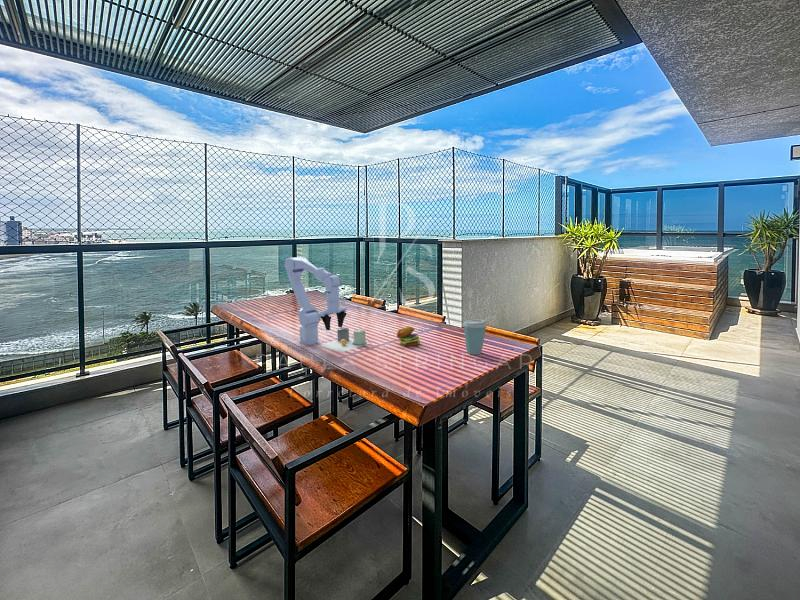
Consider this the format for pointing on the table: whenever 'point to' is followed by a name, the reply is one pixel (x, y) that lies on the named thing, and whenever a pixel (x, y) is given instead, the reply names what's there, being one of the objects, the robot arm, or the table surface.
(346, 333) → the grey acorn nut
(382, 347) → the table surface
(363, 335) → the green acorn nut
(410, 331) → the cheeseburger
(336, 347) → the mat
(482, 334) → the disposable coffee cup
